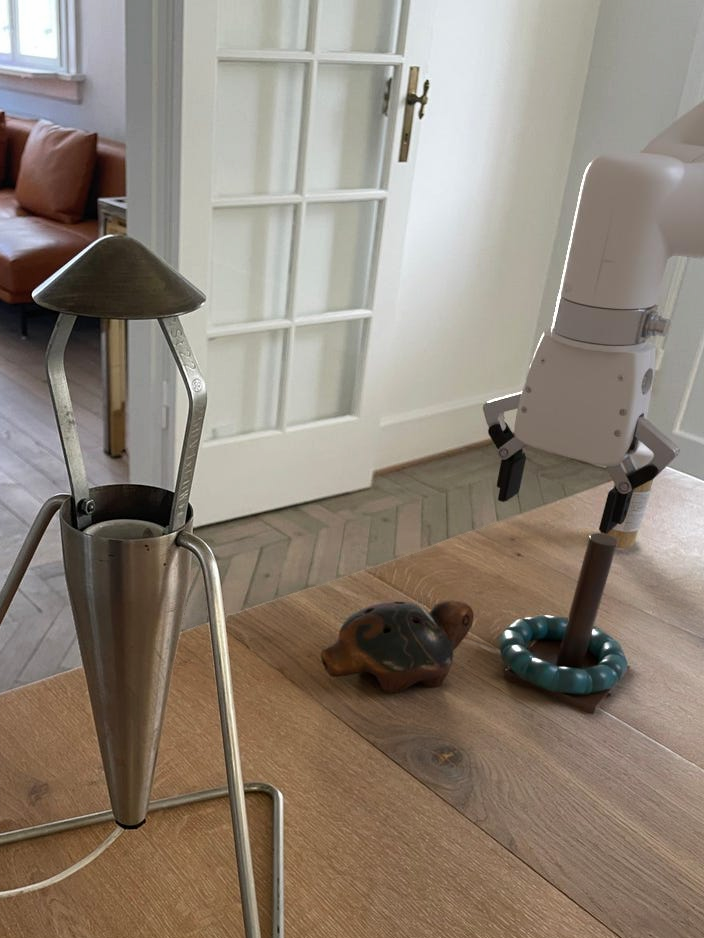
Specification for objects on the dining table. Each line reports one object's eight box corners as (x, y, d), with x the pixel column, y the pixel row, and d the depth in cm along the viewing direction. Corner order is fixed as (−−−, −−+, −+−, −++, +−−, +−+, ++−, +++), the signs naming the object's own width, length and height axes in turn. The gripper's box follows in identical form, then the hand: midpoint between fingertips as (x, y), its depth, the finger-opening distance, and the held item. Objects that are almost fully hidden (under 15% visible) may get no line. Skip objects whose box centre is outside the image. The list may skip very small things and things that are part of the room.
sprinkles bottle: (587, 542, 121) (614, 439, 114) (619, 539, 122) (648, 437, 115) (608, 558, 117) (637, 454, 110) (641, 555, 118) (672, 451, 111)
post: (626, 678, 95) (670, 538, 87) (591, 720, 90) (635, 573, 81) (540, 645, 100) (574, 508, 92) (502, 682, 94) (535, 540, 86)
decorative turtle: (488, 688, 93) (501, 620, 88) (348, 728, 89) (354, 659, 84) (434, 632, 101) (444, 568, 96) (302, 667, 96) (306, 601, 91)
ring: (639, 660, 96) (645, 639, 94) (596, 714, 88) (603, 693, 86) (526, 619, 102) (531, 599, 100) (477, 666, 94) (481, 646, 92)
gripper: (724, 333, 77) (665, 527, 86) (522, 295, 86) (489, 474, 95) (695, 353, 72) (636, 556, 81) (484, 310, 81) (452, 498, 91)
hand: (556, 512), depth 88 cm, fingers open, 9 cm apart
